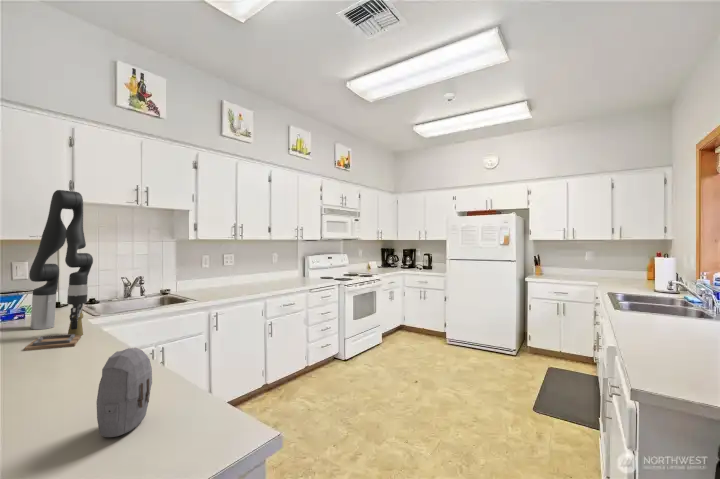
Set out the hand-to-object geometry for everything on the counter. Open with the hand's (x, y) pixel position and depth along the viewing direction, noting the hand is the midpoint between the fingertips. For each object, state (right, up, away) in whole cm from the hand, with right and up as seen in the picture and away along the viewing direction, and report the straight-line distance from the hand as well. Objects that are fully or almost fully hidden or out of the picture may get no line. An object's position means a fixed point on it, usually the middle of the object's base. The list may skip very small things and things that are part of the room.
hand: (75, 327), depth 168 cm
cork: (0, -4, 0) cm, 4 cm away
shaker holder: (+3, -4, -14) cm, 15 cm away
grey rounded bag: (+80, -5, -81) cm, 114 cm away
